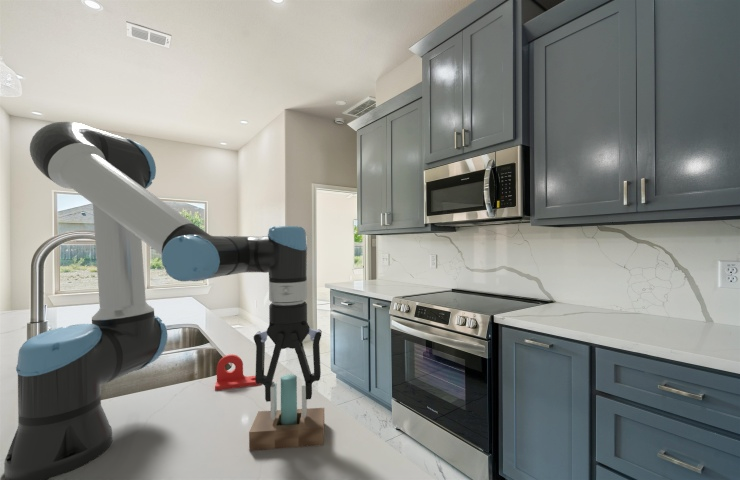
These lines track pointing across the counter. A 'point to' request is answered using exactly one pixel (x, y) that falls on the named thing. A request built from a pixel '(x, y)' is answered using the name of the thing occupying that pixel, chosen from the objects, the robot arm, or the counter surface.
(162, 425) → the counter surface
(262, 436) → the hole block
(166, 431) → the counter surface
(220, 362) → the bracket
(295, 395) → the peg
